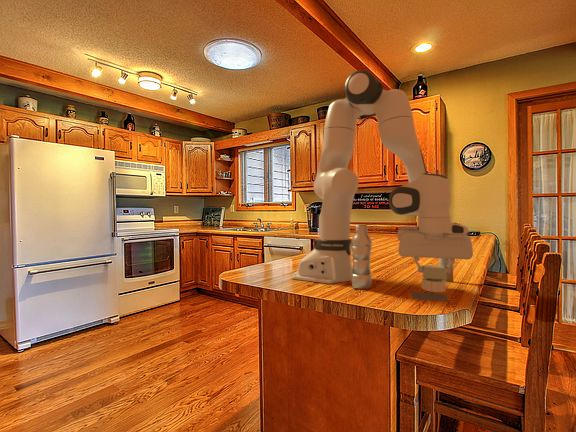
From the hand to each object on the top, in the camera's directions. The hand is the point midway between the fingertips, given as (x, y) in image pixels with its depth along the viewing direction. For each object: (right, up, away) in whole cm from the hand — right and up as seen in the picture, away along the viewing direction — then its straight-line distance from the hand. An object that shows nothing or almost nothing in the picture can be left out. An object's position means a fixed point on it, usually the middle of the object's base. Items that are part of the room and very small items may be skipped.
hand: (433, 272), depth 95 cm
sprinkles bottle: (+9, -6, +11) cm, 16 cm away
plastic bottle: (-21, -6, +3) cm, 22 cm away
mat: (-5, -6, -8) cm, 11 cm away
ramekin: (0, -6, 0) cm, 6 cm away
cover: (0, -1, 0) cm, 1 cm away
